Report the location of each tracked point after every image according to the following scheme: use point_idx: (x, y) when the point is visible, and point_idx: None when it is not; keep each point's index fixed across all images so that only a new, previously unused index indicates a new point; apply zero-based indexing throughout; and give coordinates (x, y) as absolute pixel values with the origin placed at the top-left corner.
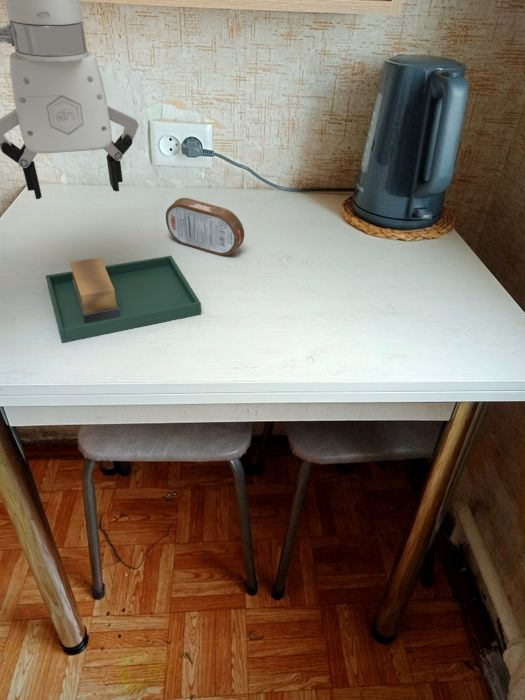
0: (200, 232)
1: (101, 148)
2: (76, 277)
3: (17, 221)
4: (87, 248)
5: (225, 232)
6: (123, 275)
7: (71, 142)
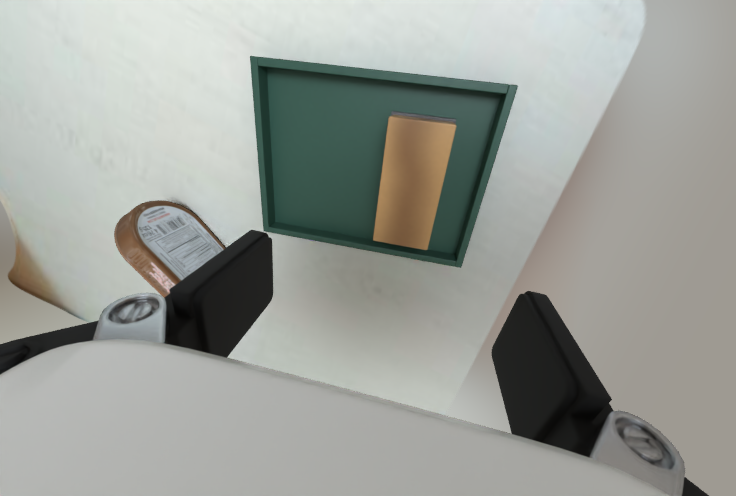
0: (202, 257)
1: (147, 341)
2: (437, 195)
3: (431, 411)
4: (371, 319)
5: (156, 224)
6: (347, 227)
7: (332, 463)
